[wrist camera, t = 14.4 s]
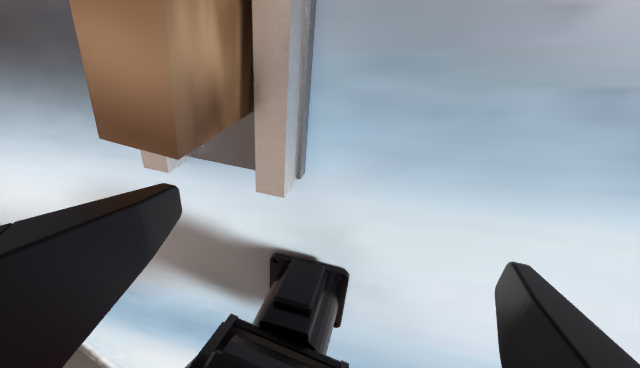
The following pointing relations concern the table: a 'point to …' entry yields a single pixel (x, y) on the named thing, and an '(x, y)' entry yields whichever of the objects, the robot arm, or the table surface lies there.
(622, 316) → the table surface
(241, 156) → the door track
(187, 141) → the tall wooden block
